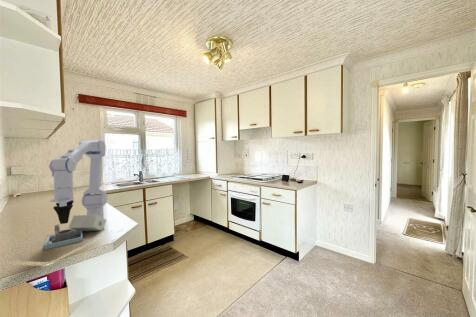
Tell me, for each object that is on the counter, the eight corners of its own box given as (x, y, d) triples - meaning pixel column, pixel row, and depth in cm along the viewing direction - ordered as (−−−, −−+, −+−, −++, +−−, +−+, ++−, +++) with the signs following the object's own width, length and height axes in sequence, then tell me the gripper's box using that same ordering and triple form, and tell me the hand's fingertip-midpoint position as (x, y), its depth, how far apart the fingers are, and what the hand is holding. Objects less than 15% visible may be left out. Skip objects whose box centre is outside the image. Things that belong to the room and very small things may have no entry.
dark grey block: (52, 241, 79) (52, 232, 79) (74, 237, 83) (73, 228, 83) (51, 246, 75) (50, 236, 75) (73, 241, 79) (73, 231, 79)
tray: (48, 242, 80) (48, 236, 80) (82, 235, 87) (82, 229, 87) (44, 252, 72) (44, 245, 72) (82, 243, 79) (82, 237, 79)
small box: (97, 214, 88) (73, 215, 87) (93, 227, 85) (67, 228, 84) (106, 219, 95) (83, 220, 94) (103, 231, 92) (79, 232, 91)
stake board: (47, 236, 87) (47, 222, 87) (76, 230, 93) (76, 217, 93) (45, 242, 80) (44, 228, 80) (76, 236, 86) (76, 222, 86)
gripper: (52, 186, 83) (53, 219, 83) (47, 191, 71) (48, 228, 71) (74, 185, 87) (74, 215, 87) (73, 188, 76) (74, 223, 76)
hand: (64, 221), depth 79 cm, fingers open, 7 cm apart
